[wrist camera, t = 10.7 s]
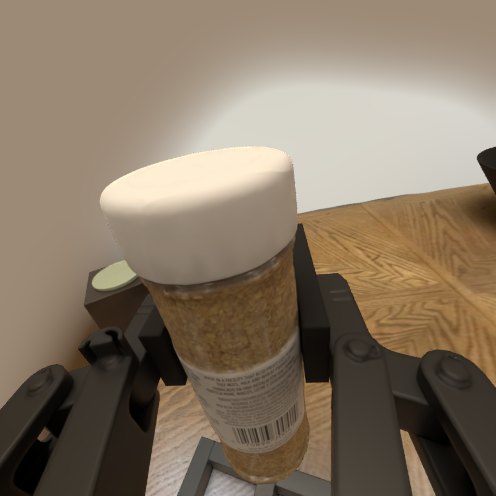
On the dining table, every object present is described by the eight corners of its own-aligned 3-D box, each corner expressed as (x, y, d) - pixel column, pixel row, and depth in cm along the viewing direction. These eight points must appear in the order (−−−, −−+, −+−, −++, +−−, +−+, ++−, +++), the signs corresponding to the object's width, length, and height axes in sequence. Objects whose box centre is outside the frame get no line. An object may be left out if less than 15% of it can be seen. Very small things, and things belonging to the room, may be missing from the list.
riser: (131, 376, 41) (83, 305, 32) (129, 338, 48) (89, 272, 40) (184, 350, 43) (152, 278, 35) (174, 317, 51) (145, 252, 42)
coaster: (91, 298, 33) (89, 296, 33) (94, 273, 39) (93, 270, 39) (145, 278, 36) (144, 275, 35) (141, 256, 41) (139, 254, 41)
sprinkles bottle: (300, 382, 14) (281, 134, 8) (320, 487, 11) (316, 170, 4) (224, 389, 15) (139, 157, 8) (215, 492, 11) (35, 214, 4)
